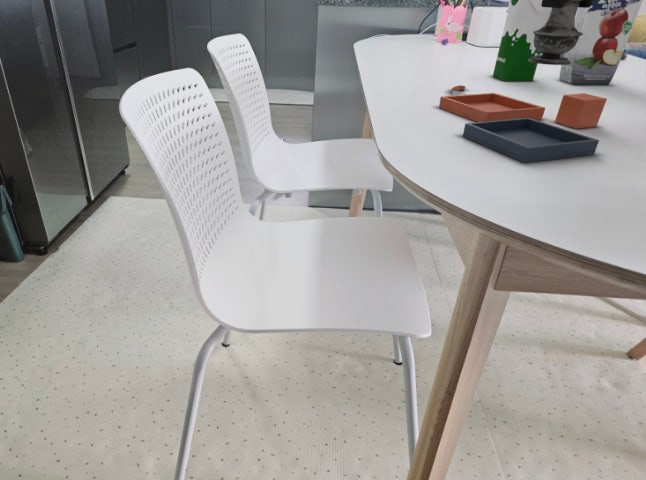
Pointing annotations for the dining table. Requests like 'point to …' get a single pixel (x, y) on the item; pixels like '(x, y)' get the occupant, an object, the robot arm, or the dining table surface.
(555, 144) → the slate tray
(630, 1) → the juice carton
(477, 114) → the terracotta tray
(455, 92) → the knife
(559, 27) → the carved stone statue
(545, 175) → the dining table surface
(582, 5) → the robot arm
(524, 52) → the soya milk
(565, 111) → the terracotta block
